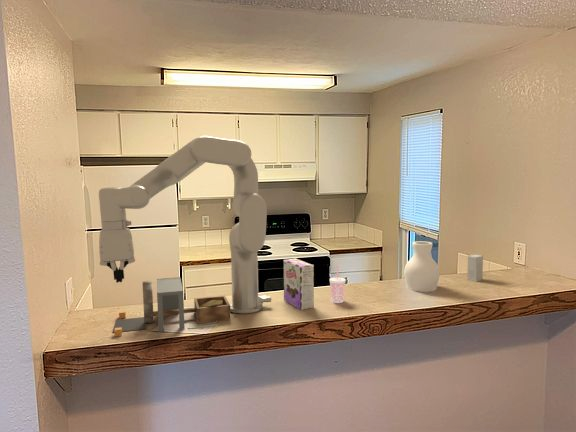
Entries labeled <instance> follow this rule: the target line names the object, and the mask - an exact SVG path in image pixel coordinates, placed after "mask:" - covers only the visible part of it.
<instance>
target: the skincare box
mask: <svg viewBox="0 0 576 432" xmlns="http://www.w3.org/2000/svg"><path fill="white" fill-rule="evenodd" d="M483 267H484V256H483V255H481V254H475V253H474V254H471V255H468V256H467V268H466V269H467V273H466V275H467V279H466V280H467V281H470V282H476V283H477V282H480V281H482V280H483V277H484V276H483V273H484V272H483V271H484V269H483Z"/></svg>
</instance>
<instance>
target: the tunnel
mask: <svg viewBox="0 0 576 432" xmlns="http://www.w3.org/2000/svg"><path fill="white" fill-rule="evenodd" d="M156 297H157V298H156V302H157V311H158V316H157V321H158V322H157V325H158V326H157V327H158V332H164V315H163V310H174V309H179V314H178V318H179V319H178V320H179V321H178V322H179V324H178V325H179V330H185V313H184V307H185V306H184V305H185V304H184V289H183V283H182V278H181V277H180V276H179V277H178V276H177V277H168V278H167V277H165V278H157V279H156ZM126 313H127V311H126V310H119V311H118V316H119V317H118V318H119V319H115V322H114V325H113V329H112V332H111V333H112V334H114V337H122V335H123V332H125V333H126V332H132V331H141V330H146V329H147V323H145V322H144V316H141V317H131V318H126V317H127V315H126ZM217 326H220V324H219V323H215V324H206V325H204V324H203V325H196V326H195V325H194V326H188V327H187V330H191V329H199V328H208V327H217Z"/></svg>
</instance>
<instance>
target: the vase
mask: <svg viewBox="0 0 576 432" xmlns="http://www.w3.org/2000/svg"><path fill="white" fill-rule="evenodd" d="M411 243H412V244H411V245H412V249H413V255H412V257H411V258H410V259H409V260H408V261H407V263H406V264H405V266H404V270H403V271H404V272H403V273H404V275H403V276H404V280H405V284H406V285H405V286H406V288H407V289H408V290H411V291H414V292H420V293H421V292H422V293H424V292H426V293H429V292H434V291H436V290H437V287H438V285H439V280H440V274H441V273H440V272H441V270H440V266H439V264H438V263H437V262H436V261H435V259H434V258H433V256H432V253H431V251H432V249H433V242H431V241H425V240H424V241H421V240H418V241H417V240H416V241H413V242H411Z"/></svg>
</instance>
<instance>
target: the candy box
mask: <svg viewBox="0 0 576 432" xmlns="http://www.w3.org/2000/svg"><path fill="white" fill-rule="evenodd" d="M282 261H283V301H284V302H287V303H288V304H290V305H291V306H292V307H295V308H297V309H298V310H300V311H301V310H308V309H313V308H314V306H315V305H314V302H315V301H314V298H315V297H314V296H315V295H314V293H315V292H314V289H315V288H314V286H315V285H314V283H315V282H314V281H315V278H314V277H315V274H314V273H315V268H314V267H315V266H314V265H315V264H311V263H308V262H306V261H304V260H301V259H298V258H289V259H283V260H282Z"/></svg>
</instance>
